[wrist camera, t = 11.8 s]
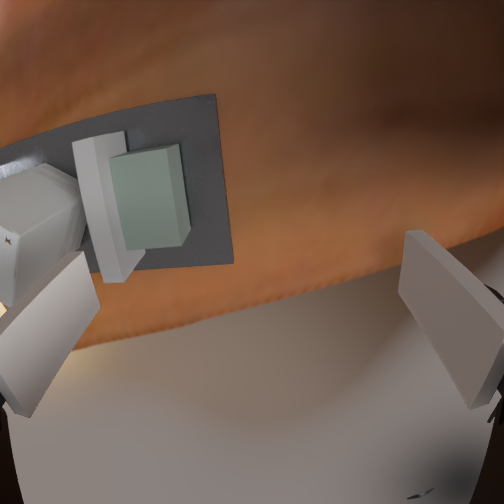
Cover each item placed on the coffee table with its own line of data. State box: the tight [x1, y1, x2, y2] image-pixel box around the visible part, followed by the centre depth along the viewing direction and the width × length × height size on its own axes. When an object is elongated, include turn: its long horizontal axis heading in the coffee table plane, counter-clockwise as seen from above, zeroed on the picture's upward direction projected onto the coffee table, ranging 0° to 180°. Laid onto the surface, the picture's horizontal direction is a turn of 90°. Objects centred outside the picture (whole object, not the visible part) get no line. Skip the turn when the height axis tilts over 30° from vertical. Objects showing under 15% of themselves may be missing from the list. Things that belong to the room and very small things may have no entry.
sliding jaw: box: [72, 131, 191, 283], centre depth 26 cm, size 12×7×6 cm, turn 5°
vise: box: [0, 94, 234, 273], centre depth 27 cm, size 16×28×7 cm, turn 95°
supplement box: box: [0, 163, 87, 308], centre depth 24 cm, size 7×7×13 cm
